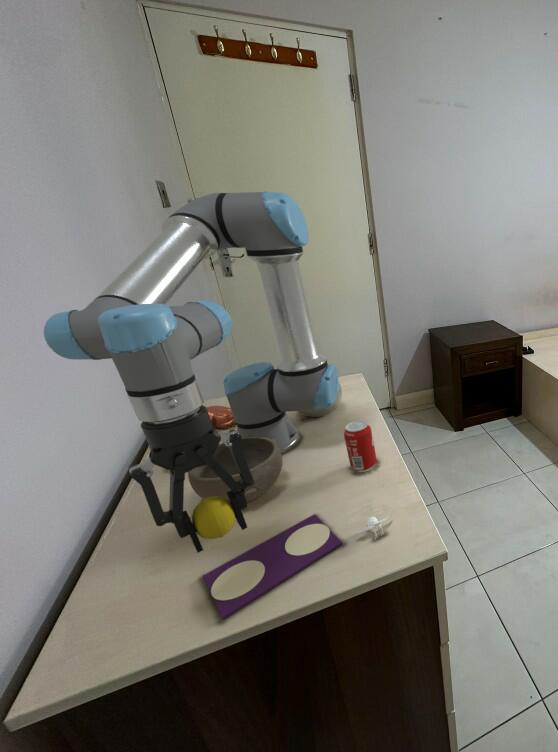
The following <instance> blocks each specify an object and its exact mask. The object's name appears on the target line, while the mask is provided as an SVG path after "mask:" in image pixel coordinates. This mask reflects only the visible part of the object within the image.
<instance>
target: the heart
mask: <svg viewBox="0 0 558 752" xmlns="http://www.w3.org/2000/svg"><path fill="white" fill-rule="evenodd" d="M205 407H206V409H207V412H208V415H209V417H210V420H211V423H212V426H213V429H215V428H228V427H231V426H233V425H234V424H236V422H235V419H234V416H233V413H232V410H231V407H230V406H229V407H228V406H224V405H209V406H205Z"/></svg>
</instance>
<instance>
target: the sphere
mask: <svg viewBox="0 0 558 752" xmlns="http://www.w3.org/2000/svg"><path fill="white" fill-rule="evenodd" d="M342 389H343V388H342V385H341V383H340V381H339V380H338V392H337V396H336V400H335V402H334V403H333V405H332V406H331V407H329V408H324V409H317V410H305V411H297V412H298V413H299V414H301V415H303V416H306V417H311V418H320V417H324V416H326V415H329V414H330V413H331V412H334V410H336V408H337V407H338V405H339V404H340V402H341V400H342V397H343V390H342Z"/></svg>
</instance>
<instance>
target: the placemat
mask: <svg viewBox="0 0 558 752" xmlns="http://www.w3.org/2000/svg"><path fill="white" fill-rule="evenodd" d="M342 545H343V542H342V541H341V540H340V538H339V537H338V536H336V534H335V533H334V532H333V531H332V530H331V529H330V527H328V526H327V525H326V524H325V523H324V522H323V521H322V520H321V518H319V517H318V516H317V515H316V514H312V515H311V516H308V517H307V518H305V519H303V520H301V521H299V522H298V523H295V524H294V525H292V526H290V527H289V528H287V529H285V530H283V531H282V532H281V531H280V532H279V533H278V534H276V535H274V536H272V537H270V538H269V539H267V540H265V541H264V542H261V543H260V544H258V545H256V546H254V547H252V548H250V549H249V550H246V551H245V552H243V553H241V554H240V555H238V556H236V557H234V558H232V559H231V560H228V561H227V562H225V563H223V564H222V565H220V566H218V567H216V568H214V569H212V570H210V571H208V572H207V573H205V574H203V575H202V578H203V580H204V582H205V584H206V586H207V588H208V590H209V593H210V595H211V596H212V598H213V601H214V603H215V606H216V607H217V610H218V611H219V613H220V615H221V617H222V619H223V621H224V620H225V619H227V618H229V617H230V616H232V615H234V614H235V613H237V612H238V611H240V610H241V609H243V608H245V607H247V606H248V605H250V604H252V602H255V601H256V600H258V599H259V598H261V597H262V596H264V595H265V594H267V593H268V592H271V591H272V590H273V589H275V588H276V587H277V586H279V585H281V584H283V583H284V582H286V581H288V580H289V579H290V578H292V577H294V576H295V575H297V574H299V573H300V572H302V571H303V570H305V569H306V568H308V567H309V566H311V565H313V564H314V563H316V562H318V561H319V560H320V559H323V558H324V557H325V556H327V555H329V554H330V553H332V552H333V551H335V550H336V549H338V548H339V547H341V546H342Z"/></svg>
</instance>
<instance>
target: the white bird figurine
mask: <svg viewBox="0 0 558 752" xmlns="http://www.w3.org/2000/svg"><path fill="white" fill-rule="evenodd" d="M389 517H390V515H388V516H387V517H384V518H382V519H380V520H378V519H377V517H375V516H370V517H368V518H367V519H366V521H365V526H366V527H365V528H363V529H361V530H360V531H358V532H356V533H354V535H357V534H360V533H363V532H365V531H370V532H372V533H374V540H376V539H378V538H379V536H378V533H377V532H378V531H379V530H380V529H381V537H382V536H384V535H385V532H384V529H383V527H382V523H383V522H385V521H386V520H387V519H389Z"/></svg>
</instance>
